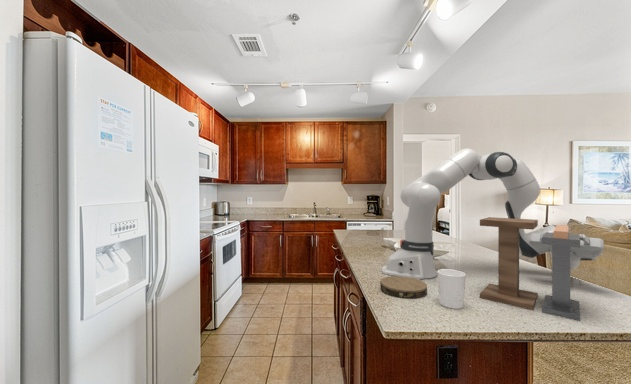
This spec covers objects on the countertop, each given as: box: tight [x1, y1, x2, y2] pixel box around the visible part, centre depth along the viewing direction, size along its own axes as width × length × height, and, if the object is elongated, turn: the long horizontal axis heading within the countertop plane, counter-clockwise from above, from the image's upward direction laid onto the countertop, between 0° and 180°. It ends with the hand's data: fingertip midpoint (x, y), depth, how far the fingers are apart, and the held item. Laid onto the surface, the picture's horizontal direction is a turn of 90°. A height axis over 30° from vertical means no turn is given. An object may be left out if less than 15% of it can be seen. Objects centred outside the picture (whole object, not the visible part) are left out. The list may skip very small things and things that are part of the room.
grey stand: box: [541, 232, 581, 322], centre depth 82 cm, size 14×8×22 cm, turn 137°
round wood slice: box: [379, 275, 428, 300], centre depth 98 cm, size 16×16×3 cm
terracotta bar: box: [553, 224, 570, 239], centre depth 86 cm, size 22×3×2 cm, turn 137°
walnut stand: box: [479, 216, 539, 311], centre depth 91 cm, size 14×14×26 cm
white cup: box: [436, 268, 467, 310], centre depth 85 cm, size 8×8×10 cm
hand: (563, 234), depth 96 cm, fingers open, 8 cm apart
